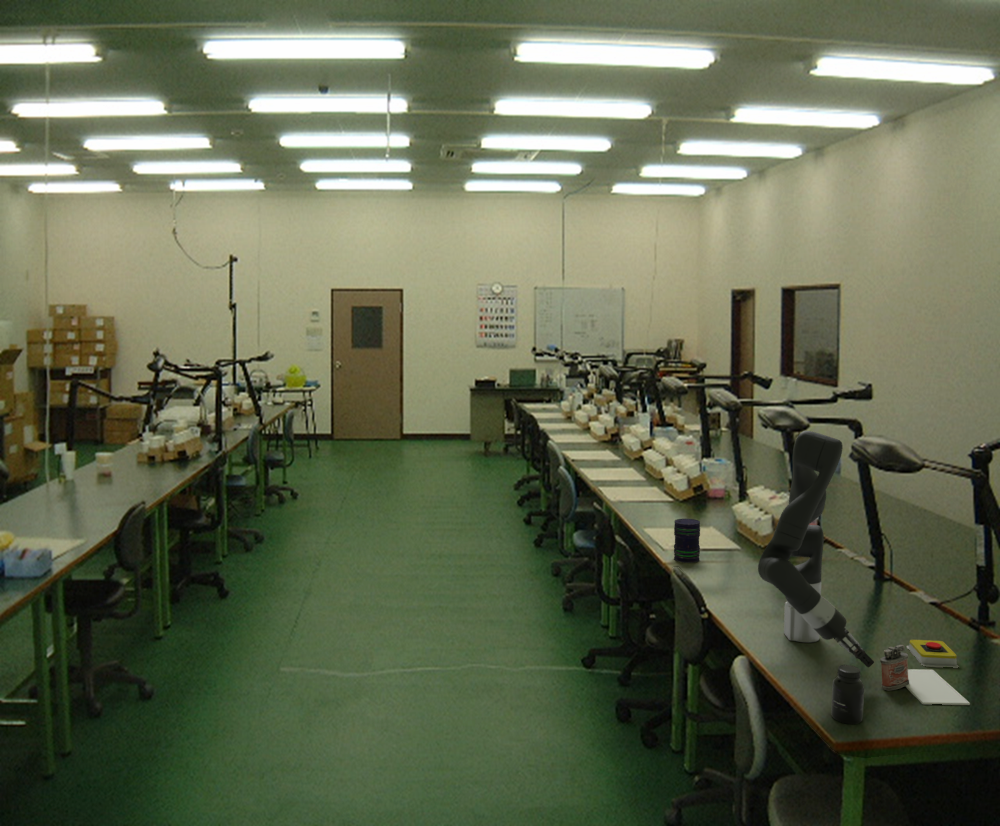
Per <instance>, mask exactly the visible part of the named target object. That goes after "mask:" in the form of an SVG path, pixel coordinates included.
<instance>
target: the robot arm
mask: <svg viewBox="0 0 1000 826" xmlns="http://www.w3.org/2000/svg"><path fill="white" fill-rule="evenodd" d="M843 446H844V445H843V442H842V441H841V440H840V439H837V438H834V437H831V436H828V435H825V434H822V433H818V432H815V431H811V430H803V431H802V432H800V433H799V434H798V436H797V437H796V439H795V442H794V445H793V450H792V479H791V484H790V490H789V499H788V504H787V505H786V507H785V508H783V510H782V512H781V513H780V516H779V519H778V522H777V523H776V527H775V530H774V533H773V536H772V538H771V539H770V541H769V542H768V544H767V546H766V547H765V548H764V550H763V552H762V554H761V556H760V558H759V560H758V565H757V572H758V575H759V576H760V578H761V579H762V580H763V581H765V582H767V583H769V584H770V585H773V586H774V587H775V588H777V590H778V591H780V593H782V595H783V596H784V597H785V600H786V601H785V602H784V612H783V613H784V615H783V616H784V617H783V618H784V620H783V622H784V623H783V634H784V635H785V636H786V638H787V639H788V641H794V642H797V643H798V642H800V643H816V642H818V641H819V640H820V637H821V638H822V639H823V640H832V639H833V640H835V642H836V643H837V644H838V645H839V646H841V647H843V648H844V649H845V650H846V651H847V653H849V654H851V655H853V656H854V657H855V658H856V659H857V660H859V661H861V662H862V664H863V665H864V666H866V668H870V667H871V666H872V665H873V664H874V663H875V662H874V660H873V659H872V658H871V656H869V655H868V654H867V653H866V650H865V649H864V648H862V646H861V644H860V643H859V641H857V640H856V638H855V637H854V635H853V634H852V633H851V632H850V631H849V630H848V629H847V628H846V626H847V618H846V617H845V616H844V615H843V614H842V613H841V612H840V611H839V610H838V609H837V608H836V607H835V605H833V604H832V603H831V602H830V601H829V600H828V599H827V598H825V597H824V596H823V595H822V568H823V554H824V539H825V538H824V537H825V536H824V534H825V533H824V531H823V528H822V526H820V525H816V524H811V523H813V522H814V521H816V520H818V518H819V517H820V516H821V515H822V513H823V512H824V510H825V506H826V499H827V488H828V486H829V484H830V482H831V480H832V478H833V476H834V475H835V472H836V470H837V468H838V466H839V463H840V460H841V459H842V458H841V457H842V453H843ZM817 472H819V473H818V474H817ZM791 557H799V558H801V557H803V558H808V559H807V560H806V561H804V562H803V563H800V564H795V565H794V564H793V563H792V562H790V558H791Z"/></svg>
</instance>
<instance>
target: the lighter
mask: <svg viewBox="0 0 1000 826" xmlns="http://www.w3.org/2000/svg"><path fill="white" fill-rule="evenodd" d="M904 651H905V645H904V644H898V645H895V646H894V647H893V646H888V648H887V649H884V650H883V652H884V653H883V654H884V656H882V657H880V658H879V660H880V661H879V662H880V664H881V668H880V669H881V685H880V686H881V689H882V690H884V691H895V690H898V689H902V688H904V687H905V686H907V685H908V684H909V679H908V669H909V668H908V659H909V654H908V653H906V652H904Z"/></svg>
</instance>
